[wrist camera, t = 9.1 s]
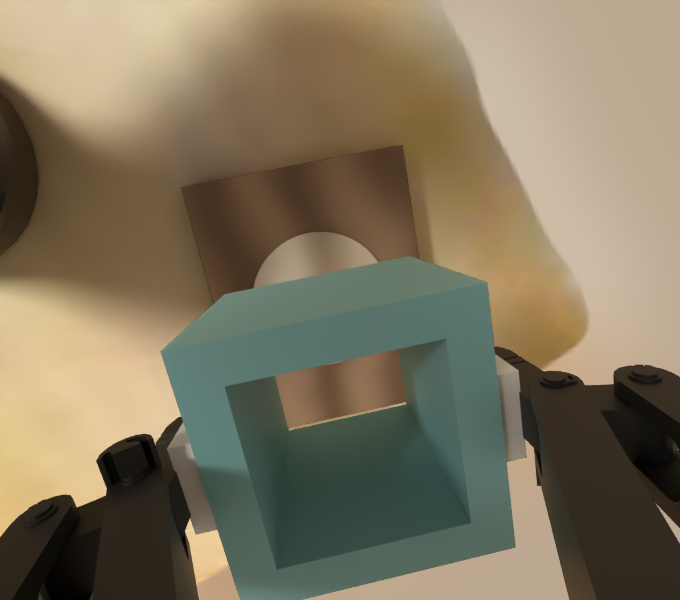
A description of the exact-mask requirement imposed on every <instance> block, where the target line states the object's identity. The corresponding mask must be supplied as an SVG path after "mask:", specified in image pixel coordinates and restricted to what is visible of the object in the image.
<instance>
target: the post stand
mask: <svg viewBox="0 0 680 600" xmlns="http://www.w3.org/2000/svg"><path fill="white" fill-rule="evenodd" d="M181 189H182V193H183V196H184V200H185V203H186V207H187V211H188V214H189V218H190V221H191V225H192V228H193V232H194V236H195V239H196V243H197V246H198V250H199V254H200V257H201V261H202V264H203V268H204V271H205V275H206V279H207V282H208V286H209V289H210V293H211V296H212V300H213V304H214V303H215V302H217V301H218V300H219V299H220V298H221V297H222V296H223V295H224V294H228V293H233V292H238V291H243V290H248V289H253V288H258V287H262V286H267V285H272V284H277V283H282V282H287V281H292V280H296V279H301V278H306V277H311V276H316V275H321V274H326V273H330V272H335V271H340V270H345V269H350V268H355V267H360V266H364V265H369V264H374V263H379V262H384V261H389V260H394V259H398V258H403V257H408V256H411V257H414V258H417V259H419V255H418V249H417V242H416V235H415V228H414V221H413V214H412V207H411V200H410V193H409V186H408V179H407V173H406V166H405V159H404V152H403V145H399V146H394V147H389V148H384V149H378V150H373V151H368V152H363V153H357V154H352V155H347V156H342V157H337V158H331V159H326V160H321V161H316V162H310V163H305V164H300V165H295V166H290V167H284V168H279V169H274V170H269V171H263V172H258V173H253V174H248V175H243V176H237V177H232V178H227V179H222V180H216V181H211V182H206V183H201V184H195V185H190V186H185V187H181ZM275 378H276V382H277V386H278V390H279V394H280V398H281V402H282V406H283V410H284V414H285V418H286V422H287V426H288V428H291V427H295V426H300V425H304V424H309V423H313V422H317V421H322V420H326V419H331V418H335V417H340V416H344V415H349V414H353V413H357V412H362V411H366V410H371V409H375V408H380V407H384V406H388V405H393V404H397V403H402V402H406V397H405V391H404V386H403V380H402V374H401V368H400V362H399V356H398V350H397V349H396V350H391V351H386V352H382V353H377V354H373V355H368V356H363V357H359V358H354V359H349V360H345V361H340V362H336V363H331V364H326V365H322V366H317V367H313V368H308V369H303V370H299V371H294V372H290V373H285V374H280V375H276V376H275Z"/></svg>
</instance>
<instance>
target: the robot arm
mask: <svg viewBox="0 0 680 600" xmlns="http://www.w3.org/2000/svg"><path fill="white" fill-rule="evenodd" d="M36 194H37V167H36V161H35V156H34V152H33V148H32V145H31V142H30V139H29V137H28V134H27V132H26V130H25V128H24V126H23V124H22V122H21V120H20V118H19V116H18V115H17V113H16V112H15V110H14V109H13V107H12V106H11V104H10V103H9V102H8V100H7V99H6V98H5V97H4V95H3V94H2V93H1V92H0V254H1V253H3V252H4V251H5V250H6V249H8V248H9V247H10V246H11V245H12V244H13V243H14V242H15V241H16V240H17V238H18V237H19V236H20V235H21V233H22V232H23V230H24V229H25V227H26V225H27V223H28V221H29V219H30V217H31V214H32V211H33V208H34V204H35V200H36ZM494 350H495V359H496V368H497V378H498V387H499V397H500V406H501V415H502V425H503V434H504V444H505V453H506V462H508V461H513V460H516V459H521V458H526V447H525V439H526V440H527V441H528V442H529V443H530V444H531V445H532V446H533V447H534V453H535V465H536V476H537V485H538V486H541V487H542V491H543V495H544V499H545V503H546V507H547V511H548V515H549V519H550V523H551V527H552V532H553V535H554V540H555V544H556V548H557V552H558V556H559V560H560V564H561V568H562V572H563V576H564V580H565V584H566V588H567V592H568V596H569V600H680V543H679V542H678V540H677V538H676V537H675V535H674V533H673V532H672V530H671V528H670V527H669V525H668V523H667V522H666V520H665V518H664V517H663V515H662V513H661V512H660V510H659V508H658V507H657V505H658V506H659V507H660V508H661V509H662V510H663V511H664V512H665V513H666V514H667V515H668V516H669V517H670V518H671V519H672V520H673V522H675V524H676V525H677V526H678V527H679V528H680V377H679V376H677V375H675V374H674V373H672V372H669V371H666V370H664V369H660V368H656V367H653V366H649V365H645V366H643V365H635V366H625V367H621V368H619V369H617V370H615V371H614V384H611V385H589V386H588V385H584V383H583V381H582V380H581V379H580V378H579V377H577V376H575V375H572V374H570V373H566V372H561V371H545V372H544V371H542V370H540V369H539V368H537V367H536V366H534V365H533V364H531V363H529V362H528V361H526V360H525V359H523V358H522V357H519V356H518V355H517V354H515V353H514V352H512V351H511V350H508V349H504V348H501V347H494ZM678 449H679V450H678ZM96 461H97V464H98V467H99V469H100V472H101V474H102V477H103V480H104V482H105V485H106V487H107V492H106V496H104V497H102V498H100V499H97V500H95V501H92V502H90V503H87V504H85V505H82V506H80V507H78V508H77V507H76V505H75V502H74V500H73V498H72V497H71V495H60V496H55V497H52V498H49V499H47V500H43V501H40V502H38V503H37V505H36V504H35V505H33V506H31V507H30V508H29V509H28V510H27V511H25V512H24V513H23V514H21V515H20V516H19V517H18V518H17V519H16V520H15V521H14V522H13V523H12V524H11V525H10V526H9V527H8V528H7V529H6V531H5V532H4V533H3V535H2V536H1V537H0V600H199V598H198V592H197V586H196V580H195V575H194V569H193V563H192V557H191V551H190V546H189V542H188V539H187V536H186V533H185V529H186V526H187V524H188V521H189V519H191V522H192V525H193V528H194V531H195V534H200V533H205V532H209V531H213V530H218V529H217V526H216V523H215V520H214V517H213V514H212V511H211V507H210V504H209V501H208V498H207V495H206V492H205V489H204V486H203V482H202V479H201V476H200V473H199V470H198V467H197V464H196V461H195V457H194V454H193V451H192V448H191V445H190V442H189V439H188V436H187V432H186V429H185V426H184V423H183V420H182V417H178V418H177V419H176V420H174V421H173V422H172V423H171V424H170V425H168V426H167V427H166V429H165V430H164V432H163V433H162V435H161V437H160V438H159V439H158V441H157V442H156V445H155V443H154V440H153V438H152V436H151V435H148V434H140V435H135V436H132V437H128V438H125V439H123V440H121V441H119V442H117V443H115V444H113V445H112V446H110V447H109V448H107V449H106V450H105V451H104V452H102V453H101V454H100V455H99V457H98V459H97V460H96ZM656 504H657V505H656Z"/></svg>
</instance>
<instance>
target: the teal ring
mask: <svg viewBox="0 0 680 600" xmlns="http://www.w3.org/2000/svg"><path fill="white" fill-rule="evenodd" d="M396 349H397V350H398V356H399V362H400V368H401V374H402V380H403V386H404V391H405V397H406V403H407V404H406V405H402V406H397V407H393V408H388V409H384V410H379V411H375V412H370V413H366V414H361V415H357V416H352V417H348V418H344V419H339V420H335V421H330V422H326V423H321V424H317V425H312V426H308V427H303V428H299V429H294V430H290V431H289V430H288V426H287V422H286V418H285V414H284V410H283V406H282V402H281V398H280V394H279V390H278V386H277V382H276V378H275V376H276V375H280V374H285V373H290V372H294V371H299V370H303V369H308V368H313V367H317V366H322V365H326V364H331V363H336V362H340V361H345V360H349V359H354V358H359V357H363V356H368V355H373V354H377V353H382V352H386V351H391V350H396ZM161 354H162V358H163V361H164V364H165V367H166V370H167V373H168V376H169V379H170V383H171V386H172V389H173V392H174V395H175V398H176V401H177V404H178V408H179V411H180V414H181V417H182V420H183V423H184V426H185V429H186V432H187V436H188V439H189V442H190V445H191V448H192V451H193V454H194V457H195V461H196V464H197V467H198V470H199V473H200V476H201V479H202V482H203V486H204V489H205V492H206V495H207V498H208V501H209V504H210V507H211V511H212V514H213V517H214V520H215V523H216V526H217V529H218V532H219V536H220V539H221V542H222V545H223V548H224V551H225V554H226V557H227V561H228V564H229V567H230V570H231V573H232V576H233V579H234V582H235V586H236V589H237V591H238V595H239V598H240V600H303V599H307V598H311V597H315V596H319V595H323V594H327V593H331V592H335V591H339V590H344V589H347V588H352V587H356V586H360V585H364V584H368V583H372V582H376V581H380V580H384V579H389V578H393V577H397V576H401V575H405V574H409V573H413V572H417V571H421V570H425V569H429V568H433V567H438V566H442V565H446V564H450V563H454V562H458V561H462V560H466V559H470V558H474V557H479V556H482V555H487V554H491V553H495V552H499V551H503V550H507V549H511V548H515V537H514V529H513V519H512V509H511V500H510V491H509V481H508V472H507V462H506V453H505V444H504V434H503V425H502V415H501V406H500V397H499V387H498V378H497V368H496V359H495V350H494V340H493V331H492V322H491V312H490V303H489V293H488V284H487V282H485V281H482V280H479V279H476V278H473V277H470V276H467V275H464V274H461V273H458V272H455V271H452V270H449V269H446V268H443V267H440V266H437V265H434V264H432V263H429V262H426V261H423V260H420V259H417V258H414V257H411V256H408V257H403V258H398V259H394V260H389V261H384V262H379V263H374V264H369V265H364V266H360V267H355V268H350V269H345V270H340V271H335V272H330V273H326V274H321V275H316V276H311V277H306V278H301V279H296V280H292V281H287V282H282V283H277V284H272V285H267V286H262V287H258V288H253V289H248V290H243V291H238V292H233V293H228V294H224V295H223V296H222V297H221V298H220V299H219V300H218V301H217V302H215V303H214V304H213V305H212V306H211V307H210V308H209V309H208V310H206V311H205V312H204V313H203V314H202V315H201V316H200V317H199V318H197V319H196V320H195V321H194V322H193V323H192V324H191V325H190V326H188V327H187V328H186V329H185V330H184V331H183V332H182V333H181V334H179V335H178V336H177V337H176V338H175V339H174V340H173V341H172V342H170V343H169V344H168V345H167V346H166V347H165V348H164V349H163V350H162V351H161Z"/></svg>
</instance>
